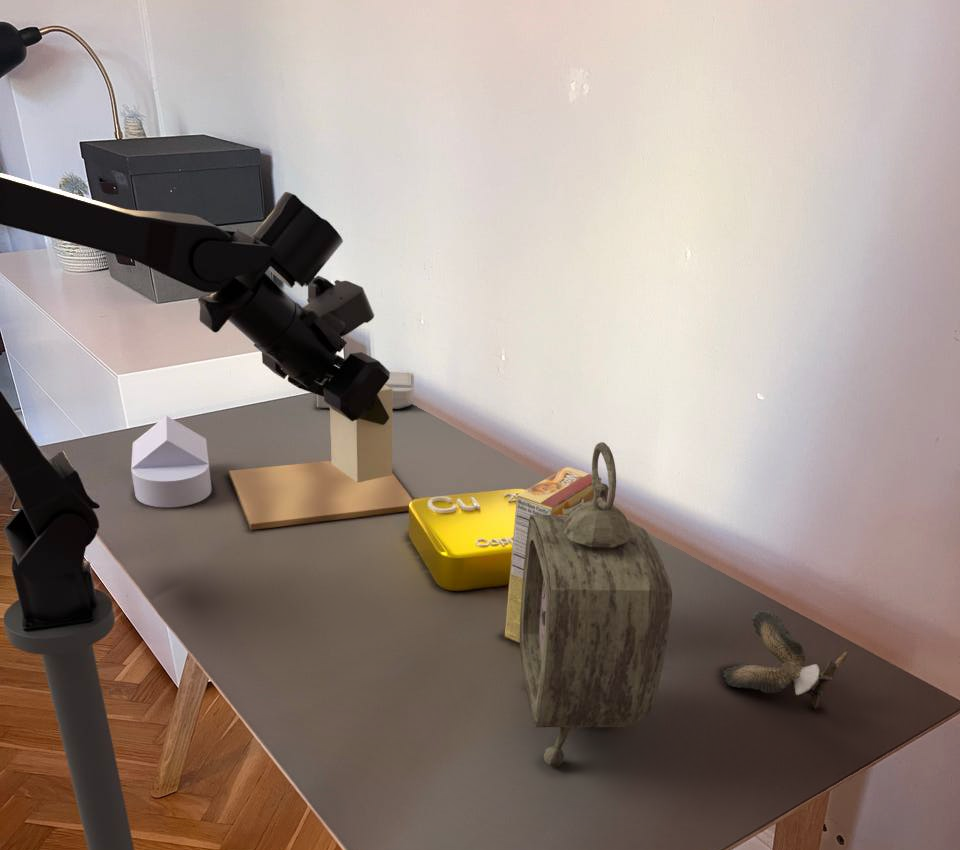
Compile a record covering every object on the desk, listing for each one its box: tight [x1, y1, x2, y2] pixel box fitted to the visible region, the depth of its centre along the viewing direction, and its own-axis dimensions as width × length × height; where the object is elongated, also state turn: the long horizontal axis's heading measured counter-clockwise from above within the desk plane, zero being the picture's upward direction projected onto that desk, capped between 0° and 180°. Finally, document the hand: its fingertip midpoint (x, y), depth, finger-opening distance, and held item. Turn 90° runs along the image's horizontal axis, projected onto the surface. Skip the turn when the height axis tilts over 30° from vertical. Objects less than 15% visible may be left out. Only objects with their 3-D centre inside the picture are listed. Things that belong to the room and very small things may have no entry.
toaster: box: [329, 379, 393, 483], centre depth 105 cm, size 6×6×10 cm
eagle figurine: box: [722, 609, 849, 710], centre depth 85 cm, size 8×7×9 cm
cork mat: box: [228, 460, 414, 531], centre depth 118 cm, size 20×16×1 cm
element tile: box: [408, 488, 526, 592], centre depth 105 cm, size 15×15×5 cm
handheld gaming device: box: [316, 371, 415, 410], centre depth 147 cm, size 9×15×4 cm, turn 94°
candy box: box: [504, 466, 602, 644], centre depth 90 cm, size 9×4×15 cm, turn 145°
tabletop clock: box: [519, 441, 673, 767], centre depth 74 cm, size 14×9×25 cm, turn 4°
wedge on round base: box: [130, 415, 212, 508], centre depth 116 cm, size 9×7×13 cm
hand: (371, 412), depth 105 cm, fingers closed on toaster, 6 cm apart
